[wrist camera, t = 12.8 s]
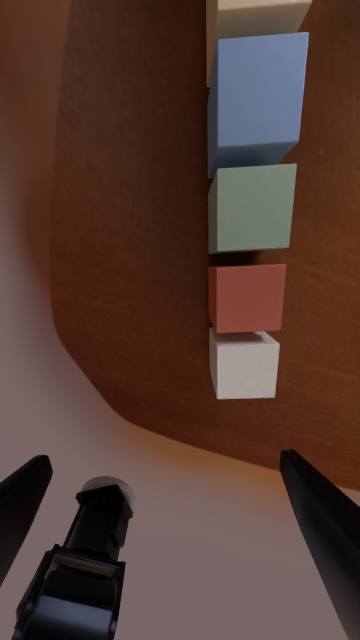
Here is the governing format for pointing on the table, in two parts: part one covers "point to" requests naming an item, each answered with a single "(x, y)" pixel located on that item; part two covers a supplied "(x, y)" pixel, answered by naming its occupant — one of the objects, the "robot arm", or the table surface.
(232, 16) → the block
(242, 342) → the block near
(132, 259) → the table surface
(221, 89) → the blue block
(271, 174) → the sage green toy cube
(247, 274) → the red block
